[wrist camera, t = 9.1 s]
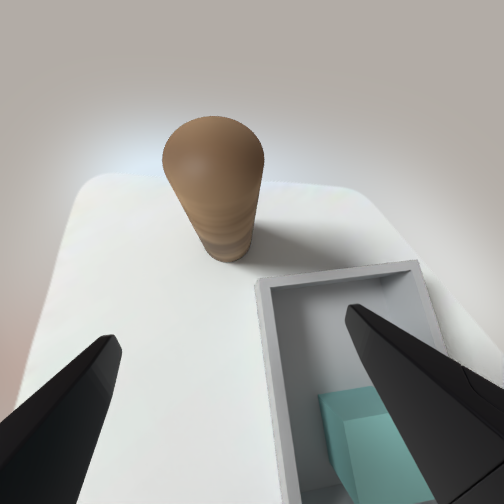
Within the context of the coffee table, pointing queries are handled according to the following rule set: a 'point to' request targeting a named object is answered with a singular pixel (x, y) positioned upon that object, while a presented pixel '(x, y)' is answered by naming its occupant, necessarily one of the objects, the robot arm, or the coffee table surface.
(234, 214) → the walnut canister
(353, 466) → the teal cube
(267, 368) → the tote
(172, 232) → the coffee table surface
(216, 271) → the coffee table surface
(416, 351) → the robot arm
